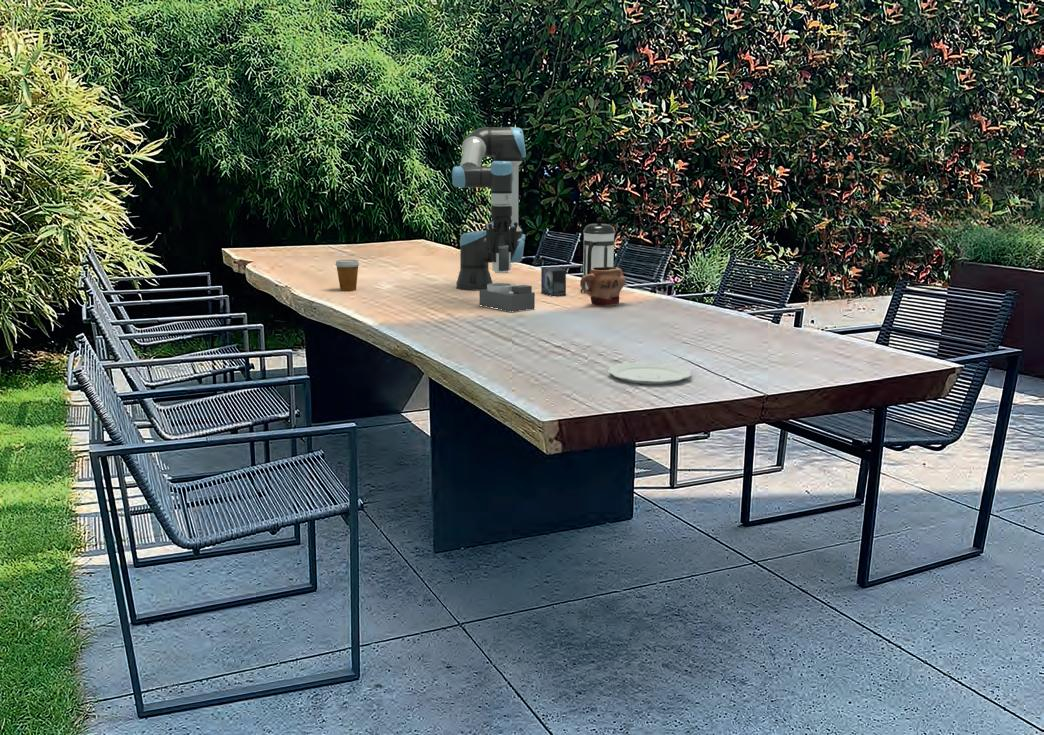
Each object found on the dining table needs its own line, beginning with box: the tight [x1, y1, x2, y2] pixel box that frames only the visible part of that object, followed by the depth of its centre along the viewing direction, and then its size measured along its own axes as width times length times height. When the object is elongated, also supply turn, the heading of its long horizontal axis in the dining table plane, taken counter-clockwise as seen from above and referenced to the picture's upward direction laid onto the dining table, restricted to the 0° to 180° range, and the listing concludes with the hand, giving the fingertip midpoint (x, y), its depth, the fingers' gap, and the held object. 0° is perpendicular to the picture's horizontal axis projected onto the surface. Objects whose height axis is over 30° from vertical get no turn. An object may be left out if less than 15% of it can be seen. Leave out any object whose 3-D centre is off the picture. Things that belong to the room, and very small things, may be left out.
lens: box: [494, 244, 509, 274], centre depth 340 cm, size 5×5×10 cm
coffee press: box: [580, 216, 616, 294], centre depth 376 cm, size 17×16×30 cm
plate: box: [607, 361, 692, 385], centre depth 239 cm, size 21×21×2 cm
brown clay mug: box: [579, 266, 627, 307], centre depth 347 cm, size 20×12×14 cm, turn 128°
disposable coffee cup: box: [335, 259, 360, 292], centre depth 381 cm, size 10×10×12 cm
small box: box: [540, 266, 567, 297], centre depth 373 cm, size 11×6×10 cm, turn 25°
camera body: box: [478, 282, 536, 313], centre depth 341 cm, size 18×11×8 cm, turn 41°
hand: (501, 270), depth 341 cm, fingers closed on lens, 5 cm apart
